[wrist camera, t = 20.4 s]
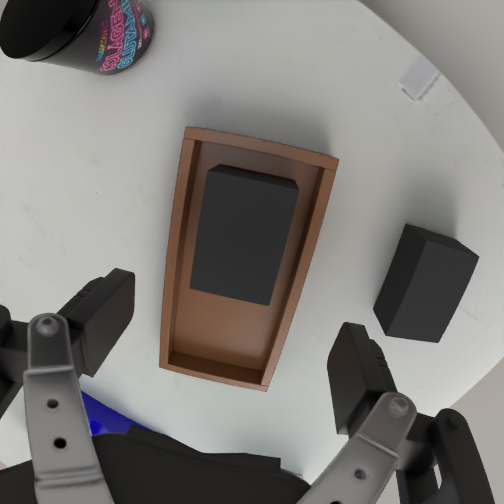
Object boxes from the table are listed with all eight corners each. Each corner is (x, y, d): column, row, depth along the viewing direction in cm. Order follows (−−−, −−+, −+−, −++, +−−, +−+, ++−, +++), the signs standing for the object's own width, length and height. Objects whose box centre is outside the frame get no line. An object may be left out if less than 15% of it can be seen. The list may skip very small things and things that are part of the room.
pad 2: (405, 223, 22) (426, 239, 19) (455, 239, 23) (479, 256, 19) (372, 309, 25) (385, 336, 22) (421, 318, 26) (438, 343, 22)
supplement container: (106, 93, 20) (16, 83, 11) (73, 43, 18) (-11, 20, 9) (173, 38, 18) (108, -14, 9) (133, -10, 17) (65, -63, 7)
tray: (194, 126, 21) (185, 126, 19) (332, 156, 21) (339, 159, 19) (166, 351, 29) (158, 367, 26) (267, 374, 29) (266, 392, 26)
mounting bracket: (168, 438, 35) (157, 473, 29) (153, 455, 37) (142, 486, 32) (50, 370, 32) (28, 399, 27) (48, 395, 35) (29, 422, 29)
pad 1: (219, 163, 21) (207, 169, 18) (295, 180, 22) (299, 189, 18) (201, 265, 24) (188, 288, 21) (270, 280, 24) (269, 306, 21)
